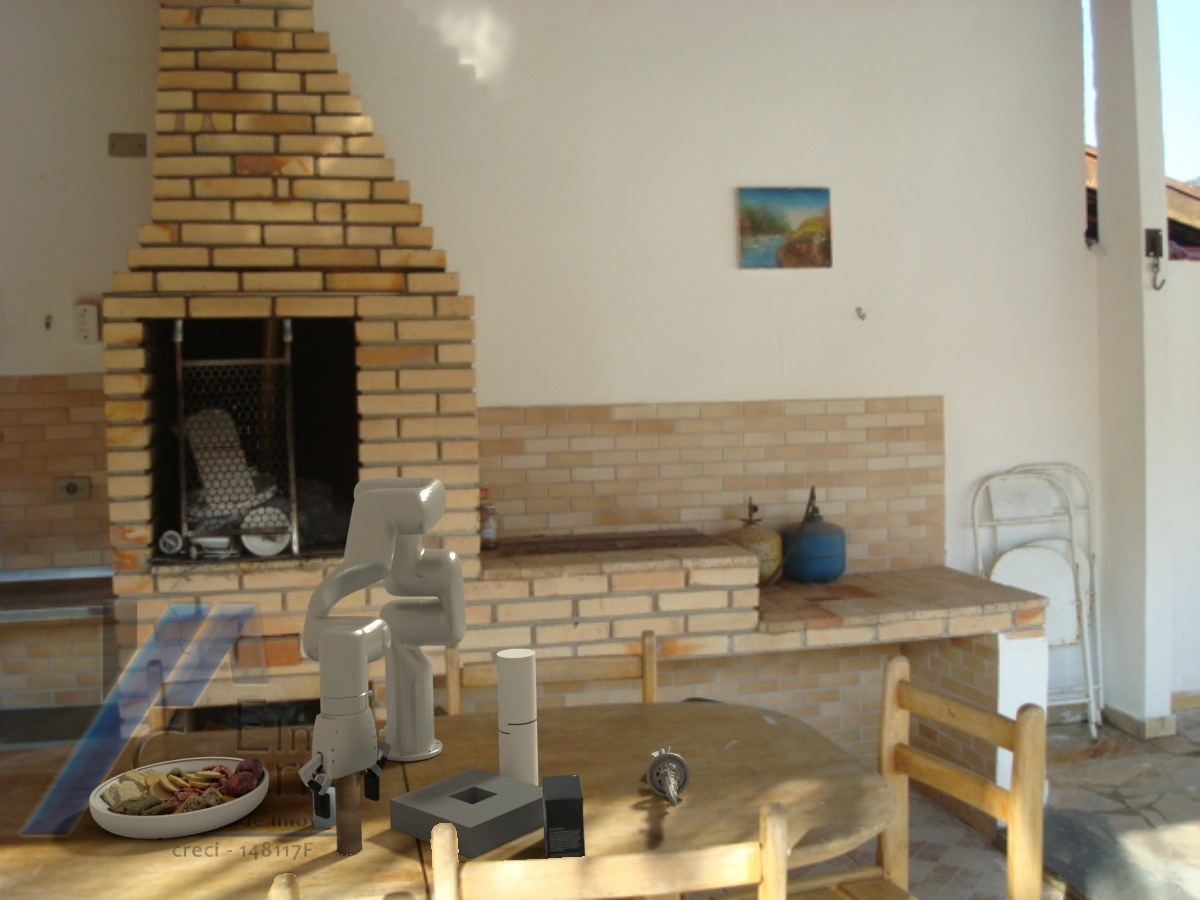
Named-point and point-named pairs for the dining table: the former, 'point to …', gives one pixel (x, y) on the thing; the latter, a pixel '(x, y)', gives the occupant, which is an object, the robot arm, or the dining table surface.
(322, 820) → the short pin
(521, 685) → the cylindrical container
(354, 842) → the long pin
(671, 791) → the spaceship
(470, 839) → the collar block
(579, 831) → the small box
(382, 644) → the robot arm
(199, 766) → the bowl
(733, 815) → the dining table surface
